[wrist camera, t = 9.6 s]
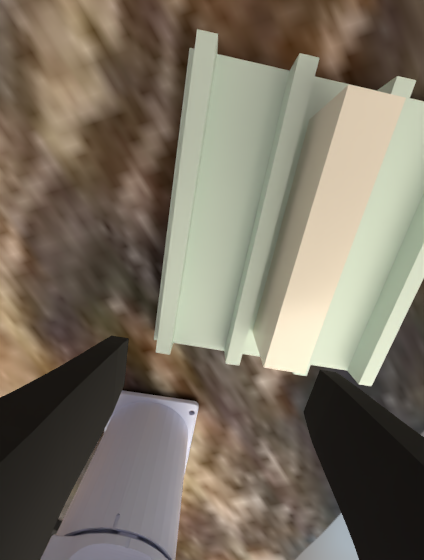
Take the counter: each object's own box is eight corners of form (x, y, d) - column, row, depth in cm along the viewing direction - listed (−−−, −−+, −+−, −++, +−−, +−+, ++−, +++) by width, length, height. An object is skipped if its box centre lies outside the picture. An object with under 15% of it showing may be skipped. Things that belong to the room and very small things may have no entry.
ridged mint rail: (357, 365, 19) (377, 387, 17) (156, 332, 19) (148, 351, 16) (465, 121, 14) (517, 104, 12) (191, 59, 13) (186, 26, 11)
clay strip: (284, 337, 18) (304, 373, 14) (252, 332, 17) (263, 367, 14) (350, 128, 13) (406, 97, 10) (309, 119, 13) (348, 84, 9)
